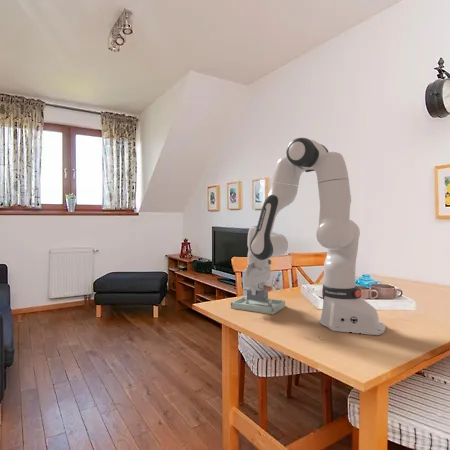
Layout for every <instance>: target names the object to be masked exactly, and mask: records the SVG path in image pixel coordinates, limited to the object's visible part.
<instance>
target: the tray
mask: <svg viewBox="0 0 450 450" xmlns="http://www.w3.org/2000/svg"><path fill="white" fill-rule="evenodd" d="M285 307H286V300H282V299H276V298H268V299H267V300H265V301H258V300H249V299H247V296H244V297H243V296H242V297H239V298H238V299H235V300H233V301H231V302H230V309H235V310H240V311H241V310H243V311H246V312H255V313H261V314H268V315H274V314H277V312H279V311H280V310H282V309H284V308H285Z"/></svg>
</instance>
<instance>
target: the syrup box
mask: <svg viewBox="0 0 450 450" xmlns="http://www.w3.org/2000/svg"><path fill="white" fill-rule="evenodd" d="M244 273H245V269H244V270H242V273H241V274H242V297H244V296H247V290H249V289H251V288H250V287H247V286H245V285H244ZM255 288H259V284H257V285H256V287H255Z"/></svg>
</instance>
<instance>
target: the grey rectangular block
mask: <svg viewBox="0 0 450 450" xmlns="http://www.w3.org/2000/svg"><path fill="white" fill-rule="evenodd" d="M256 291H257V294H256V295H252V290H251V289H249V290H247V299H249V300H258V301H265V300H267V299H269V289H265V288H263V289H259V288H256Z"/></svg>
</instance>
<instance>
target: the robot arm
mask: <svg viewBox="0 0 450 450" xmlns="http://www.w3.org/2000/svg"><path fill="white" fill-rule="evenodd" d="M285 153H286V156H283V157H280V158H279V159H278V160H277V162H276V164H275V166H274V170H273V173H272V178H271V184H270V188H269V191H268V195H267V196H266V198H265V200H264V202H263V204H262V206H261V211H260V214H259V219H258V221H257V225H255V226H251V227H250V228H249V230H248V232H247V248H248V251H247V267H246V268H245V269H244V270H245V273H244V285H245V286H247V287H250V288H251V290H252V295H256V294H257V291H256V288H255V287H256V285H257V284H259V289H264V287H265V286H264V285H265V282H266V281H268V280H270V277H271V265H272V259H271V258H275V257H279V256H281V255H284V254H285V253H286V252H287V250H288V249H289V248H288V247H289V244H288V239H287V238H286V236H285V235H283V234H280V233H278V232H275V231H273V228H274V225H275V221H276V217H277V215H278V214H279V212H281V211H283V209H285V207H288V206H289V205H291V204H293V202H294V201H295V199H296V197H297V194H298V190H299V185H300V178H301V175H302V174H303V173H304V172H306V173H309V172H315V173H316V178H317V188H318V198H319V216H318V227H317V229H316V240H317V242H318V243H319V245H321V246H322V247H324V248H325V249H327V252H326V256H325V260H324V262H323V285H322V287H321V288H322V300H323V301H322V308H321V314H320V318H319V320H318V321H319V323H320V325H322V326H324V327H326V328H328V329H329V330H330V331H333V332H341V333H349V332H352V333H351V334H359V333H361V335H369V336H370V335H371V336H379V335H382V334H384V333H385V332H386V329H387V326H386V324H385V323H384V322H383V321H381V320H380V319H379V313H378V311H377V310H376V308H375V307H374V306H373V305H372V304H370V303H369V302H367V301H366V300H365V298H364V299H363V298H362V288H361V287H360V288H359V287H358V286H356V263H357V256H358V248H359V239H360V234H361V231H360V227H359V226H358V224H357V223H356V222H355V221H353V219H352V220H351V219H350V213H351V203H352V195H351V187H350V180H349V173H348V169H347V164H346V161H345V158H344V156H343V155H342V154H341V153H340V152H337V151H329V150H328V148H327V147H326V146H325V145H323V144H321V143H319V142H317V141H316V140H314V139H313V140H312V139H309V138H307V137H297V138H295V139H293V140H291V141H290V142H289V144H288V145H287V148H286V151H285Z"/></svg>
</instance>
